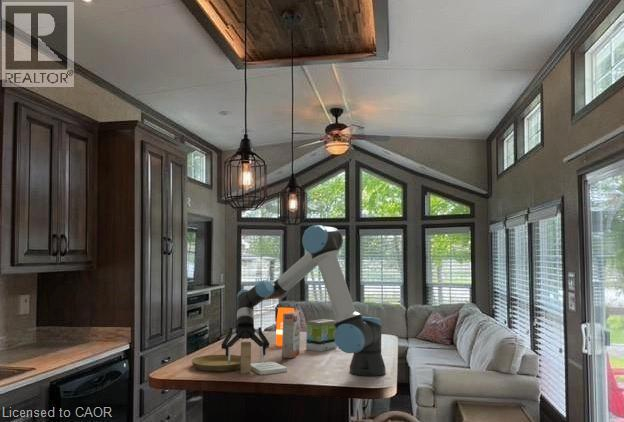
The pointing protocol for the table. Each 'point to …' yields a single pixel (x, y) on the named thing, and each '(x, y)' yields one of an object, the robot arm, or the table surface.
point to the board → (268, 368)
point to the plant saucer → (217, 362)
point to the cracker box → (291, 334)
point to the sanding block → (245, 358)
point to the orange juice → (280, 324)
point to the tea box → (320, 335)
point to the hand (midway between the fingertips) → (245, 361)
